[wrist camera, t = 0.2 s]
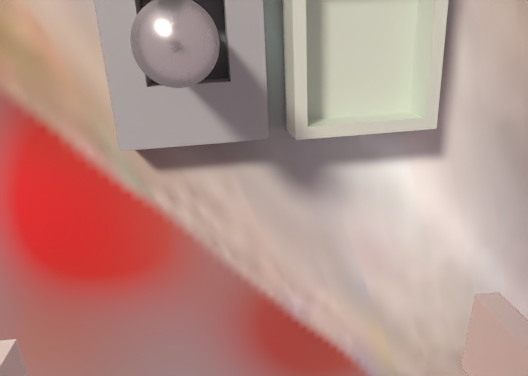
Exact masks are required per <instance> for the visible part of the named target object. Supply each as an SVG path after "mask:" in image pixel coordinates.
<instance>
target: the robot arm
mask: <svg viewBox="0 0 528 376" xmlns="http://www.w3.org/2000/svg"><path fill="white" fill-rule="evenodd" d="M461 365H462V367H463V368H464V370H465V371H466V373H467V374H468V375H469V376H528V320H527V319H526V318H525V317H524V316H523V315H522V314H521V313H520V312H519V311H518V310H517V309H515V308H514V307H513V306H512V305H511V304H510V303H509V302H508V301H507V300H506V299H505V298H504V297H503V296H502V295H501V294H500V293H489V294H478V295H475V298H474V303H473V308H472V313H471V318H470V323H469V328H468V333H467V338H466V343H465V348H464V353H463V358H462V364H461ZM0 376H28V375H27V372H26V368H25V365H24V362H23V359H22V356H21V353H20V349H19V346H18V343H17V340H16V339H14V340H3V341H0Z"/></svg>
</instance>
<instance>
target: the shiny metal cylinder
mask: <svg viewBox="0 0 528 376" xmlns="http://www.w3.org/2000/svg"><path fill="white" fill-rule="evenodd" d="M130 41H131V49H132V53H133V56H134V58H135V60H136V62H137V64H138V66H139V67H140V69H141V70H142V71H143V72H144V73H145V74H146V75H147V76H148V77H149V78H150V79H152V80H153V81H155V82H157V83H158V84H161V85H163V86H167V87H171V88H185V87H189V86H192V85H195V84H197V83H199V82H200V81H202V80H203V79H204V78H206V77H207V76H208V75H209V74H210V72H211V71H212V69H213V68H214V66H215V64H216V62H217V59H218V55H219V48H220V41H219V35H218V31H217V28H216V25H215V23H214V21H213V20H212V18H211V16H210V15H209V14H208V13H207V11H206V10H205V9H204V8H202V7H201V6H200V5H199V4H197V3H196V2H194V1H192V0H153V1H151V2H149V3H148V4H147V5H145V6H144V7H143V8H142V9H141V10H140V12H139V13H138V15H137V16H136V18H135V20H134V22H133V25H132V29H131V38H130Z"/></svg>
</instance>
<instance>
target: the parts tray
mask: <svg viewBox="0 0 528 376" xmlns="http://www.w3.org/2000/svg"><path fill="white" fill-rule="evenodd" d="M447 11H448V0H283V28H284V61H285V93H286V125H287V131H288V132H289V133H290V134H291V135H292V136H293V138H294V139H295V140H303V139H316V138H328V137H341V136H353V135H366V134H378V133H390V132H403V131H415V130H428V129H437V120H438V109H439V98H440V87H441V77H442V66H443V55H444V44H445V33H446V22H447Z"/></svg>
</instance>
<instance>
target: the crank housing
mask: <svg viewBox="0 0 528 376" xmlns="http://www.w3.org/2000/svg"><path fill="white" fill-rule="evenodd" d="M94 5H95V11H96V17H97V22H98V28H99V34H100V40H101V46H102V52H103V58H104V63H105V69H106V75H107V81H108V87H109V93H110V98H111V104H112V110H113V116H114V122H115V128H116V134H117V139H118V145H119V151H128V150H141V149H153V148H166V147H178V146H191V145H203V144H216V143H228V142H241V141H253V140H266V139H269V121H268V99H267V77H266V55H265V33H264V11H263V0H223V8H224V21H225V34H226V48H227V61H228V74H229V78H220V79H205V80H202V81H200V82H199V83H197V84H195V85H192V86H189V87H185V88H171V87H167V86H163V85H161V84H158V83H151V79H150V78H149V77H148V76H147V75H146V74H145V73H144V72H143V71H142V70H141V69H140V67H139V66H138V64H137V62H136V60H135V58H134V56H133V53H132V49H131V41H130V38H131V29H132V25H133V22H134V20H135V18H136V16H137V15H138V13H139V12H140V10H141V3H140V0H94Z"/></svg>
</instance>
